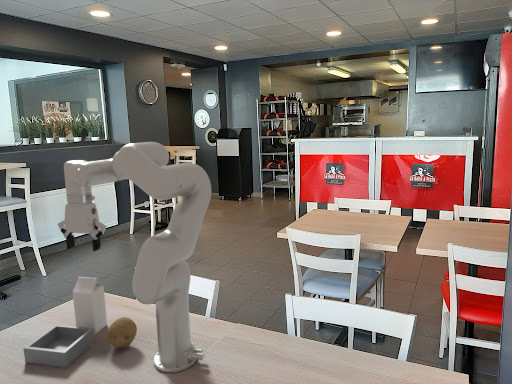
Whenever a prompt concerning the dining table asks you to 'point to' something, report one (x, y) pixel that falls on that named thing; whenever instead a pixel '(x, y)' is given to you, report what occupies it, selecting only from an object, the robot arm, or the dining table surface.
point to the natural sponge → (121, 332)
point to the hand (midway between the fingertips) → (83, 248)
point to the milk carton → (89, 304)
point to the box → (59, 346)
